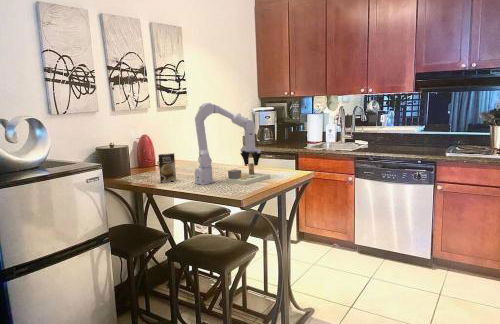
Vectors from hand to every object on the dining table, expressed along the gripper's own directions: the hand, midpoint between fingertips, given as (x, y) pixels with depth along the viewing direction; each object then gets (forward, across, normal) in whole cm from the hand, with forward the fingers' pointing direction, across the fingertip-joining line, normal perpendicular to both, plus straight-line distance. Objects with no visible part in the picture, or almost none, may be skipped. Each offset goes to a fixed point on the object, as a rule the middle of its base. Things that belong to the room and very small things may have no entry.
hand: (251, 164), depth 216 cm
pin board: (+8, -3, +6) cm, 10 cm away
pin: (+5, 0, 0) cm, 5 cm away
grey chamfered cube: (+5, +1, +13) cm, 14 cm away
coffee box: (+8, +36, +33) cm, 49 cm away
